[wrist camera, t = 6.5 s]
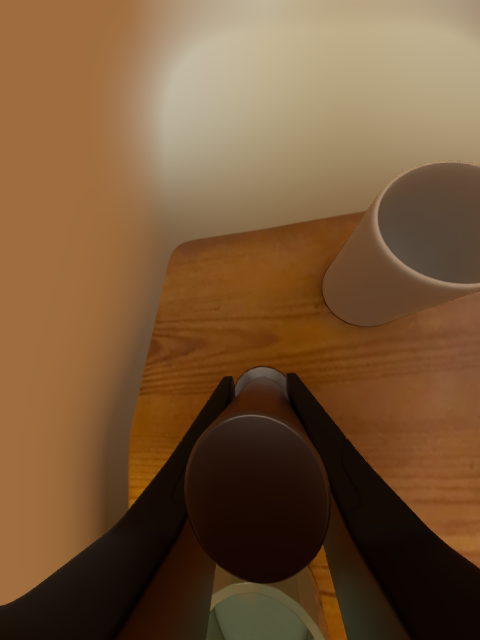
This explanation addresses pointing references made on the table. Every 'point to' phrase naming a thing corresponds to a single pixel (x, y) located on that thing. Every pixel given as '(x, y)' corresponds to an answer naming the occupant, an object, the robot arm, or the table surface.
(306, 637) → the bowl
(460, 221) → the mug
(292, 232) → the table surface
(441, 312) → the table surface
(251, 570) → the muddler
